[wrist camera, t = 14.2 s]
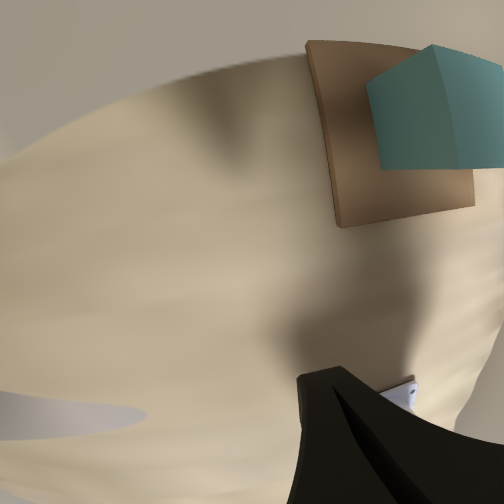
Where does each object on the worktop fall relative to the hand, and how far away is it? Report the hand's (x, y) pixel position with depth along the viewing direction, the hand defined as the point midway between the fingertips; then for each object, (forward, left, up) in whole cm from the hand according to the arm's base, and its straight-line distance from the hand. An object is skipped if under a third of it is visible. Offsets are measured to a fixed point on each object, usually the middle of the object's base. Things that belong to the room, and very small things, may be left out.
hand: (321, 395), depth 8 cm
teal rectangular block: (+9, -10, -9) cm, 16 cm away
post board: (+9, -10, -10) cm, 16 cm away
